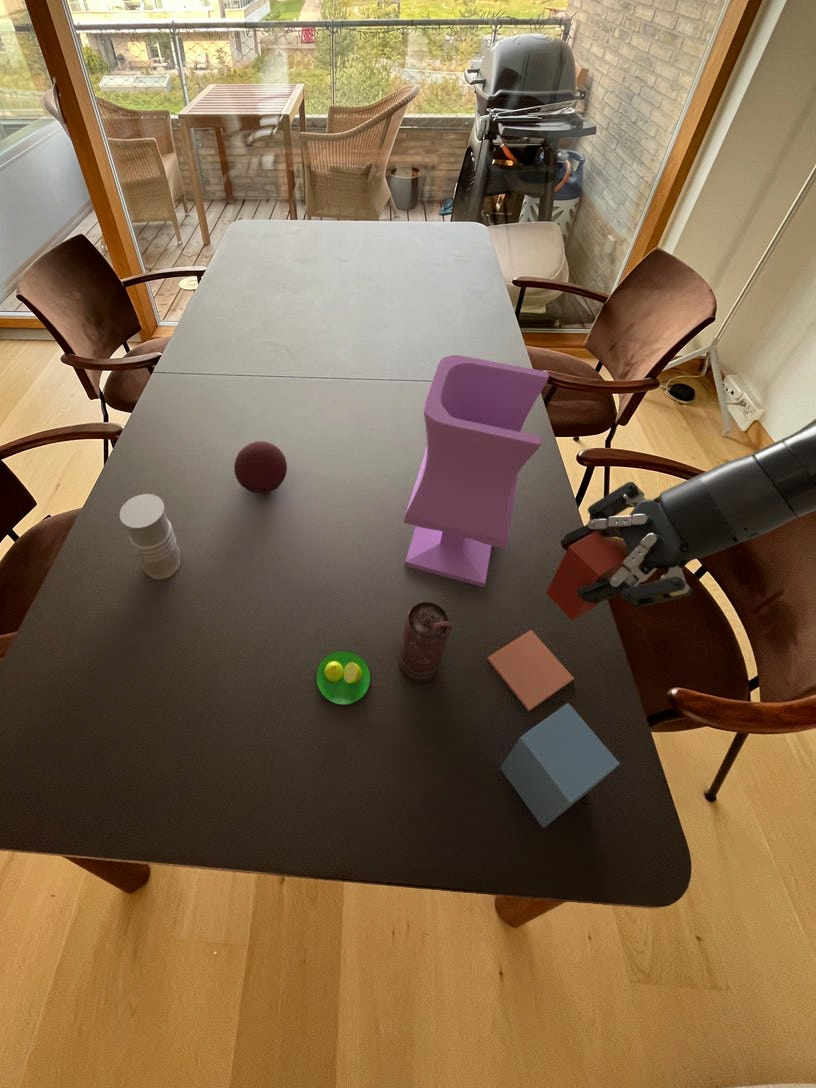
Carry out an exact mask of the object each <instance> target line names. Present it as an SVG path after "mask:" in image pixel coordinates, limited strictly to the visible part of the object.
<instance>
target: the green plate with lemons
mask: <svg viewBox="0 0 816 1088" xmlns="http://www.w3.org/2000/svg"><path fill="white" fill-rule="evenodd" d="M370 683H371V672H370V670H369V666H368V665H367V663H366V661H365V660H364V659H363V658H362V657H361V656H359V655H358V654H357V653H354V652H352V651H347V650H339V651H335V652H332V653H330V654H328V655H327V656H325V657H324V658H323V659H322V660H321V662H320V664H319V665H318V668H317V671H316V684H317V687H318V689H319V692H320V693H321V695H322V696H323V697H324V698H326V699H327V700H328V701H330V702H332V703H335V704H337V705H349V704H353V703H355V702H357V701H359V700H361V698H363V697H364V695H365V694H367V691H368V690H369V686H370Z"/></svg>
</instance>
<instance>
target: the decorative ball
mask: <svg viewBox="0 0 816 1088" xmlns="http://www.w3.org/2000/svg"><path fill="white" fill-rule="evenodd" d="M233 465H234V466H233V467H234V470H233V471H234V476H235V478H236V480H237V482H238V483H239V485H240V487H242V488H243V489H245V490H247V491H248V492H250V493H252V494H259V495H260V494H261V495H262V494H269V493H270V492H273V491H275V490H276V489H278V488H279V487H281V485H282V484H283V482H284V480H285V479H286V475H287V471H288V463H287V459H286V456H285V455H284V453H283V451H282V450H281V449H280V448H279V447H278V446H277V445H275V444H274V443H270V442H268V441H261V440H260V441H259V440H258V441H253V442H251V443H248V444H247V445H245V446H244V447H242V449H240V450H239V452H238V454H237V455H236V457H235V460H234V464H233Z"/></svg>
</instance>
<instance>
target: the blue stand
mask: <svg viewBox="0 0 816 1088" xmlns="http://www.w3.org/2000/svg"><path fill="white" fill-rule="evenodd" d="M619 765H621V763H620V761H618V759H617V758H616V757H615V756H614V755H613V754H612V752H611V751H610V750H609V749H608V748H607V746H605V744H604V743H603V742H602V741H601V740H600V739H599V737H598V736H597V735H596V733H595V732H594V731H593V730H592V729H591V728H590V727H589V726H588V724H587V722H585V721H584V719H582V717H581V716H580V715H579V713H578V712H577V711H576V710H575V708H574V707H573V706H572V705H571V704H570V703H569V702H567V703H566V704H565V705H563V706H561V707H560V708H559V709H557V710H556V711H555V712H553V713H552V714H550V715H549V716H548V717H546V718H545V719H544V720H542V721H541V722H539V723H537V725H535V726H534V727H532V728H530V730H528V731H527V732H525V733H524V734H523V735H521V736H520V737H519V738H518V740H517V742H516V743H515V744H514V746H513V747H512V749H511V751H510V752H509V753H508V755H507V756H506V758H505V759H504V761H503V763H502V764H501V766H500V770H501V772H502V773H503V774H504V776H505V777H506V779H507V780H508V781H509V783H510V785H511V786H512V787H513V788H514V790H515V791H516V793H517V794H518V796H519V797H520V798H521V799H522V801H523V802H524V804H525V806H526V807H527V808H528V810H529V811H530V812H531V814H532V815H533V817H534V818H535V819H536V821H537V822H538V824H539V825H540V826H541V828H542V829H545V828H546V827H547V826H549V825H550V824H551V823H552V822H553V821H555V820H556V819H557V818H558V817H560V815H562V814H563V813H565V812H566V811H567V810H569V808H570V807H572V806H573V805H574V804H576V803H577V802H579V800H581V799H582V798H584V796H585V795H587V794H588V793H589V792H590V791H591V790H592V789H594V788H595V787H596V786H597V785H598V784H600V783H601V782H602V781H603V780H604V779H605V778H606V777H607V776H608V775H610V774H611V772H613V771H614V770H615V769H616V768H617V767H618V766H619Z"/></svg>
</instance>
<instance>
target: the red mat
mask: <svg viewBox="0 0 816 1088" xmlns="http://www.w3.org/2000/svg"><path fill="white" fill-rule="evenodd" d="M486 660H487V661H488V662H489V664H490V665H491V667H492V668H493V669H494V670H495V671H496V673H497V674H498V675H499V676H500V678H501V679H502V680H503V681H504V683H505V684H506V685H507V687H508V688H509V689H510V690H511V691H512V693H513V694H514V696H515V697H516V698H517V699H518V700H519V702H520V703H521V704H522V705H523V706H524V708H525V709H526V711H528V712H530V711H532V710H533V709H535V708H536V707H537V706H539V705H540V704H541V703H544V701H546V700H548V699H549V698H550V697H551V696H553V695H555V694H556V693H557V692H559V691H560V690H562V689H563V688H564V687H566V686H567V685H568V684H570V683H572V682H573V681H574V680H575V677H573V675H572V674H571V673H570V672H569V671H568V670H567V669H566V667H565V666H564V665H563V664H562V663H561V662H560V660H559V659H557V657H556V656H555V655H554V654H553V653H552V652H551V650H549V648H548V647H547V646H546V645H545V644H544V642H542V641H541V639H540V638H539V636H538V635H536V633H535V632H534V631H533V630H532V629H530V630H528V631H527V632H526V633H523V635H521V636H519V637H517V638H516V639H514V640H513V641H511V642H509V643H508V644H507V645H505V646H504V647H502V648H500V649H498V650H497V651H495V652H494V653H492V654H491V655H489V656H487V658H486Z"/></svg>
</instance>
